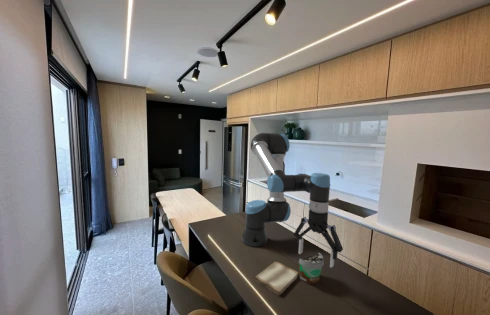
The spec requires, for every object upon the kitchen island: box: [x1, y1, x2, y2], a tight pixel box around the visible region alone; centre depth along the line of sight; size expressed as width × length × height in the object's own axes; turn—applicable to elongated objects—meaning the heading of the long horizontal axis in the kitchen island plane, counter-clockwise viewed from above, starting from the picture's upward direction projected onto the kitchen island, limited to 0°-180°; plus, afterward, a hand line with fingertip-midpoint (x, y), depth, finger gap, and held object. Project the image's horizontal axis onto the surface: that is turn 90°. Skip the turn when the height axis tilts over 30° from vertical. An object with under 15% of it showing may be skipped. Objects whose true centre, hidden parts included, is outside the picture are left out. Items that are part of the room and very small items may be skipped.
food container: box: [298, 252, 325, 285], centre depth 86 cm, size 12×6×10 cm, turn 117°
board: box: [254, 260, 300, 297], centre depth 87 cm, size 12×16×2 cm
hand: (315, 259), depth 86 cm, fingers open, 13 cm apart
